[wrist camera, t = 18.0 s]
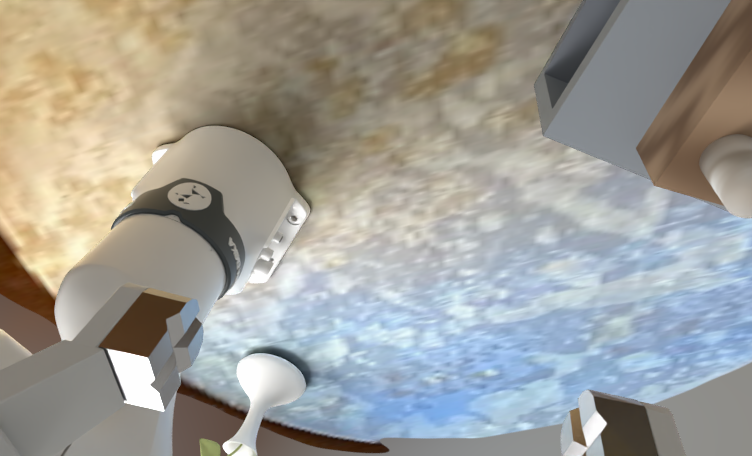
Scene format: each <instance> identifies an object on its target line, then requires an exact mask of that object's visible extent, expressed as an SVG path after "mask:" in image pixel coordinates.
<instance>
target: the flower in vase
mask: <svg viewBox="0 0 752 456" xmlns="http://www.w3.org/2000/svg"><path fill="white" fill-rule="evenodd" d="M237 377H238V379H239V382H240V384H241V386H242V388H243V389H244V391H245V392H246V393H247V395H248V396H249V398H250V400H251V406H250V410H249V413H248V415H247V417H246V419H245V421H244V423H243V425H242V426H241V428H240V430H239V431H238V432H237V434H236V435H235V436H234V437H233V438H231V439H230V440H228V441H227V442H225V443H224V444H223V449H224V450H225V451H226V452H227V453H228V454H229V455H227V456H257V451H256V437H257V432H258V429H259V426H260V423H261V420H262V418H263V416H264V414H265V413H266V411H267V410H268V409H269V408H271V407H274V406H279V405H284V404H288V403H290V402H293V401H295V400H297V399H299V398H300V397H301V396H302V394H303V393H304V392H305V390H306V382H305V379H304V376H303V374H302V373H301V371H300V370H299V369H298V368H297V367H296V366H295V365H293V364H292V363H290V362H289V361H287V360H285V359H283V358H281V357H278V356H275V355H271V354H265V353H256V354H251V355H248V356H247V357H245V358H243V359H242V360H240V362H239V363H238V366H237ZM200 450H201V456H220V445H219V444H218V443H216V442H214V441H210V440H206V439H200Z"/></svg>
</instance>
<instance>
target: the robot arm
mask: <svg viewBox="0 0 752 456" xmlns="http://www.w3.org/2000/svg"><path fill="white" fill-rule="evenodd" d="M152 161H153V166H152V168H151V169H150V170H149V171H148V172H147V173H146V174H145V176H144V177H143V178H142V179H141V180H140V181H139V182H138V184H137V185H136V186H135V187H134V188H133V190H132V192H131V196H132V197H133V202H131V203H129V204H128V205H127V206H126V207H125V208H124V210H123V211H122V212H121V214H120V215H119V217H118V218H117V219H116V220H115V221H114V223H113V225H112V227H111V231H110V232H109V233H108V234H107V235H106V236H105V237H104V238H103V239H102V240H101V241H100V242H99V243H98V244H97V245H96V246H95V247H94V248H93V249H91V250H90V251H89V252H88V253H87V254H86V255H85V256H84V257H83V258H82V259H81V260H80V261H79V262H78V263H77V264H76V265H75V266H74V267H73V268H72V269H71V270H70V271H69V272H68V273H67V274H66V276H65V277H64V279H63V281H62V283H61V285H60V288H59V291H58V294H57V297H56V302H55V319H56V323H57V327H58V330H59V333H60V336H61V340H62V341H61V342H59V343H57V344H55V345H53V346H51V347H48V348H46V349H44V350H42V351H40V352H38V353H36V354H32V353H31V352H29V351H28V350H27V349H26V348H24V347H23V346H22V345H21V344H19V343H18V342H17V341H16V340H14V339H13V338H12V337H11V336H9V335H8V334H7V333H6V332H4V331H3V330H2V329H0V456H173V454H172V425H173V412H174V405H175V398H176V392H177V389H178V388H179V386H180V384H181V381H180V374H181V372H182V371H184V370H185V369H187V368H189V367H191V366H192V364H193V363H194V361H195V359H196V357H197V356H198V353H199V350H200V347H201V345H202V342H203V326H202V324H203V323H204V321H205V319H206V317H207V316H208V314H209V312H210V311H211V309H212V307H213V305H214V304H215V302H216V301H217V300H219V299H220V298H222V297H223V296H224V295H233V294H238V293H241V292H242V291H243V289H244V287H245V286H246V284H247V283H265V282H266V281H267V280H268V279H269V278H270V276H271V275H272V273H273V272H274V270H275V268H276V267H277V265H278V264H279V262H280V260H281V259H282V257H283V256H284V254H285V252H286V251H287V249H288V248H289V246H290V244H291V243H292V241H293V240H294V238H295V236H296V235H297V233H298V231H299V230H300V228H301V227H302V225H303V223H304V222H305V220H306V219H307V217H308V215H309V214H310V207H309V205H308V204H307V202H306V201H305V200H304V199H303V198H302V196H301V195H300V194H299V193H298V192H297V191H296V190H295V188H294V187H293V185H292V182H291V180H290V177H289V175H288V173H287V171H286V169H285V167H284V166H283V164H282V163H281V161H280V160H279V159H278V157H277V156H276V155H275V154H274V153H273V152H272V151H271V150H270V149H269V148H268V147H267V146H266V145H264V144H263V143H262V142H260V141H259V140H257V139H256V138H254V137H252V136H251V135H249V134H247V133H245V132H242V131H240V130H237V129H234V128H230V127H224V126H205V127H201V128H198V129H195V130H193V131H191V132H189V133H188V134H186V135H185V136H184V137H183V138H182V139H181V140H179V141H178V142H176V143H172V144H166V145H162V146H159V147H158V148H156V150H155V151H154V152H153V154H152ZM294 216H296V217H297V218H295V217H294ZM578 403H579V408H576V409H574V410H571V411H569V413H568V415H567V416H566V418H565V420H564V423H563V427H562V431H561V452H562V456H686V454H685V451H684V448H683V445H682V442H681V439H680V436H679V433H678V430H677V427H676V424H675V421H674V418H673V414H672V413H671V412H670V411H669V409H668V408H666V407H662V406H658V405H653V404H649V403H644V402H639V401H637V400H634V399H630V398H625V397H620V396H616V395H611V394H607V393H602V392H597V391H593V390H586V391H583V392H582V394H581V395H580V396H579V398H578Z"/></svg>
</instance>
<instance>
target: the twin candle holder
mask: <svg viewBox="0 0 752 456" xmlns="http://www.w3.org/2000/svg"><path fill="white" fill-rule="evenodd" d="M636 150H637V152H638V154H639V156H640V158H641V160H642V162H643V164H644V166H645V168H646V170H647V172H648V174H649V176H650V178H651V180H652V182H653V185H654V186H657V187H661V188H664V189H668V190H671V191H674V192H678V193H681V194H685V195H688V196H692V197H695V198H698V199H702V200H705V201H709V202H712V203H716V204H719V205H722V206H725V207H726V209H727V210H728V211H729V212H730V213H731V214H733V215H735V216H737V217H741V218H752V0H731V1H730V3H729V4H728V6H727V7H726V9H725V11H724V12H723V14H722V15H721V17H720V18H719V20H718V21H717V23H716V25H715V26H714V28H713V29H712V31H711V32H710V34H709V35H708V37H707V38H706V40H705V42H704V43H703V45H702V46H701V48H700V49H699V51H698V52H697V54H696V56H695V57H694V59H693V60H692V62H691V63H690V65H689V66H688V68H687V69H686V71H685V73H684V74H683V76H682V77H681V79H680V80H679V82H678V83H677V85H676V87H675V88H674V90H673V91H672V93H671V94H670V96H669V97H668V99H667V100H666V102H665V104H664V105H663V107H662V108H661V110H660V111H659V113H658V114H657V116H656V117H655V119H654V121H653V122H652V124H651V125H650V127H649V128H648V130H647V131H646V133H645V135H644V136H643V138H642V139H641V141H640V142H639V144H638V145H637V147H636Z"/></svg>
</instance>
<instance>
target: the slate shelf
mask: <svg viewBox="0 0 752 456" xmlns="http://www.w3.org/2000/svg"><path fill="white" fill-rule="evenodd" d="M730 1H731V0H583V1H582V3H581V4H580V6H579V8H578V10H577V11H576V13H575V15H574V17H573V18H572V20H571V22H570V24H569V25H568V27H567V29H566V30H565V32H564V34H563V36H562V37H561V39H560V41H559V43H558V44H557V46H556V48H555V49H554V51H553V53H552V55H551V56H550V58H549V60H548V62H547V63H546V65H545V67H544V69H543V70H542V72H541V74H540V75H539V77H538V79H537V81H536V82H535V84H534V88H535V93H536V99H537V105H538V111H539V116H540V122H541V128H542V134H543V136H545V137H547V138H550V139H552V140H555V141H557V142H559V143H562V144H564V145H567V146H569V147H572V148H574V149H577V150H579V151H581V152H584V153H586V154H589V155H591V156H594V157H596V158H599V159H601V160H603V161H606V162H608V163H611V164H613V165H616V166H618V167H620V168H623V169H625V170H628V171H630V172H633V173H635V174H638V175H640V176H642V177H645V178H647V179H650V180H651V178H650V176H649V174H648V172H647V170H646V168H645V166H644V164H643V162H642V160H641V158H640V156H639V154H638V152H637V150H636V147H637V145H638V144H639V142H640V141H641V139H642V138H643V136H644V135H645V133H646V131H647V130H648V128H649V127H650V125H651V124H652V122H653V121H654V119H655V117H656V116H657V114H658V113H659V111H660V110H661V108H662V107H663V105H664V104H665V102H666V100H667V99H668V97H669V96H670V94H671V93H672V91H673V90H674V88H675V87H676V85H677V83H678V82H679V80H680V79H681V77H682V76H683V74H684V73H685V71H686V69H687V68H688V66H689V65H690V63H691V62H692V60H693V59H694V57H695V56H696V54H697V52H698V51H699V49H700V48H701V46H702V45H703V43H704V42H705V40H706V38H707V37H708V35H709V34H710V32H711V31H712V29H713V28H714V26H715V25H716V23H717V21H718V20H719V18H720V17H721V15H722V14H723V12H724V11H725V9H726V7H727V6H728V4H729V3H730ZM691 197H692V196H691ZM694 198H695V197H694ZM696 199H698V198H696ZM699 200H701V201H704V202H706V203H708V204H711V205H713V206H716V207H718V208H721V209H723V210H725V211H728V210H727V209H726V207H725V206H722V205H719V204H716V203H712V202H709V201H705V200H702V199H699ZM728 212H729V211H728Z"/></svg>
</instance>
